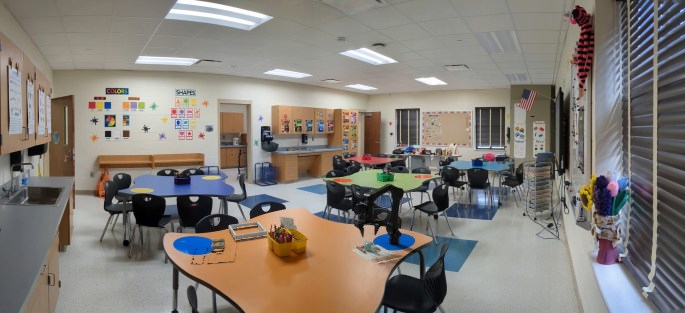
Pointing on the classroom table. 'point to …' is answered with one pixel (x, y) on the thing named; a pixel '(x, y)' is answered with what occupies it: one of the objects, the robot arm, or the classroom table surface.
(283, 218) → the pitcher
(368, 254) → the board
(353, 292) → the classroom table surface
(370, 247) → the teal dome with tabs
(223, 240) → the pile of dominoes
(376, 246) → the cradle
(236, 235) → the train corral
